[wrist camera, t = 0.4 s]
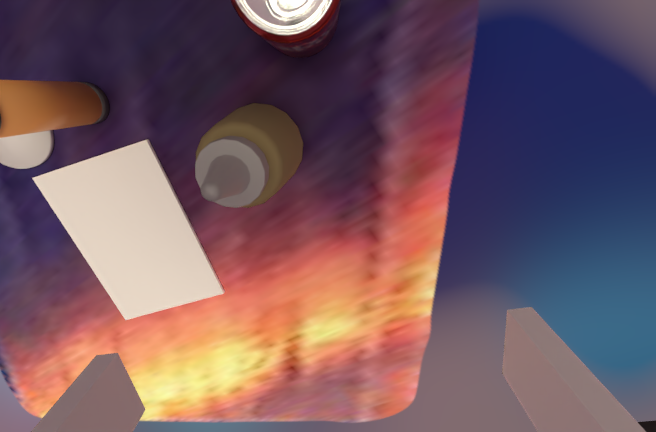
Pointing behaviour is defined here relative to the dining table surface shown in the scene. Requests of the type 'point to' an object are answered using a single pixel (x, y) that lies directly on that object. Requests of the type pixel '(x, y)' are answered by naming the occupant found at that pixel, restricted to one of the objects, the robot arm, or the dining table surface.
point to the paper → (131, 230)
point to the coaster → (26, 149)
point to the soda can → (291, 23)
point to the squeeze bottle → (248, 156)
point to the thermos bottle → (49, 106)
